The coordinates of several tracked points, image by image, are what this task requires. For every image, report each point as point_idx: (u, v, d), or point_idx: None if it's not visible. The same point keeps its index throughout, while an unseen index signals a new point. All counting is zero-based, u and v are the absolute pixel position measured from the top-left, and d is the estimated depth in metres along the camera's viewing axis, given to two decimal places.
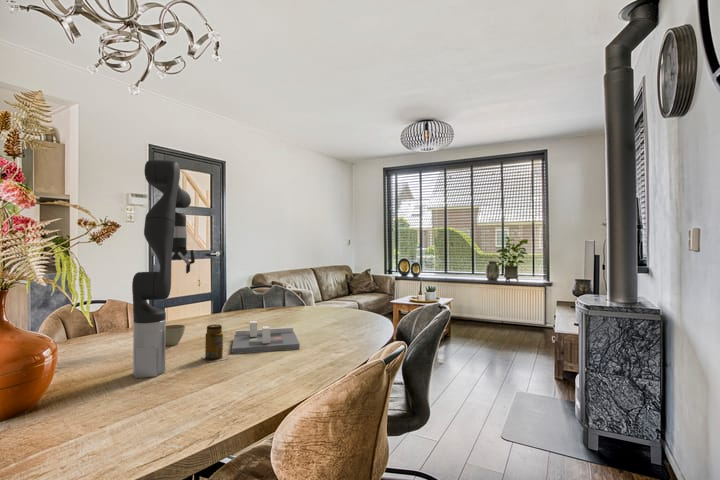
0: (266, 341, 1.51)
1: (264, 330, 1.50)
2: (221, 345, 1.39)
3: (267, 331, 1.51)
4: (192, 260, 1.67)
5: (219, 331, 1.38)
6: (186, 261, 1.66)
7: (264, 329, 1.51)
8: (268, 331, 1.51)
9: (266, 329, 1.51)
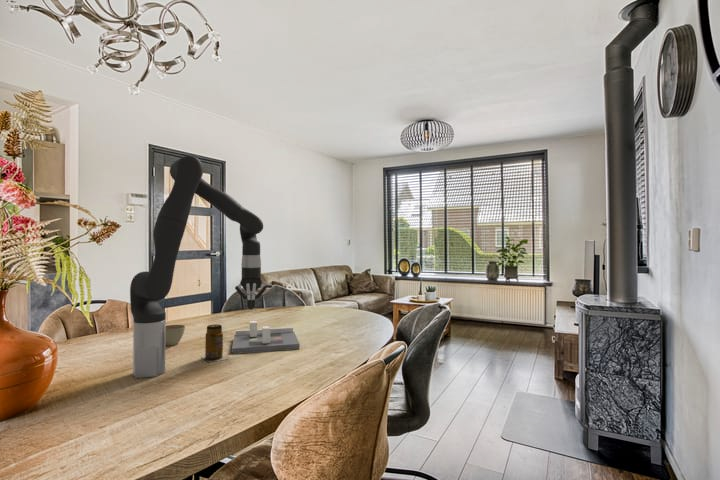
0: (266, 341, 1.51)
1: (264, 330, 1.50)
2: (221, 345, 1.39)
3: (267, 331, 1.51)
4: (257, 294, 1.51)
5: (219, 331, 1.38)
6: (253, 295, 1.50)
7: (264, 329, 1.51)
8: (268, 331, 1.51)
9: (266, 329, 1.51)
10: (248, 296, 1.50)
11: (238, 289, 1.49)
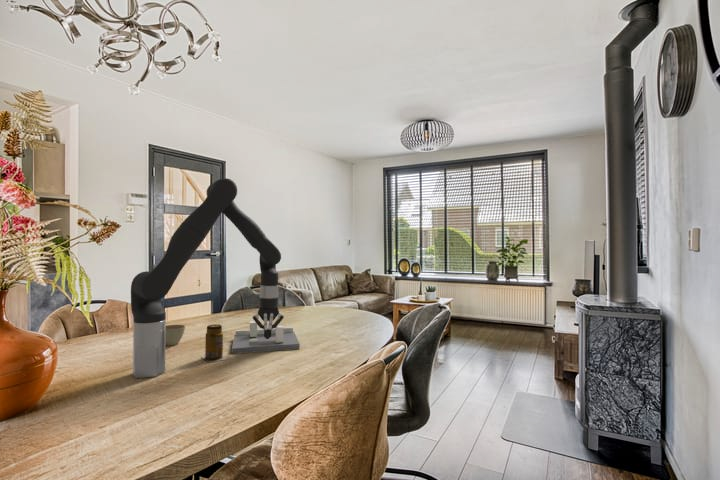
0: (279, 340, 1.52)
1: (277, 329, 1.52)
2: (221, 345, 1.39)
3: (280, 330, 1.52)
4: (274, 324, 1.53)
5: (219, 331, 1.38)
6: (270, 325, 1.52)
7: (277, 328, 1.52)
8: (281, 330, 1.52)
9: (279, 328, 1.52)
10: (265, 326, 1.52)
11: (256, 319, 1.51)
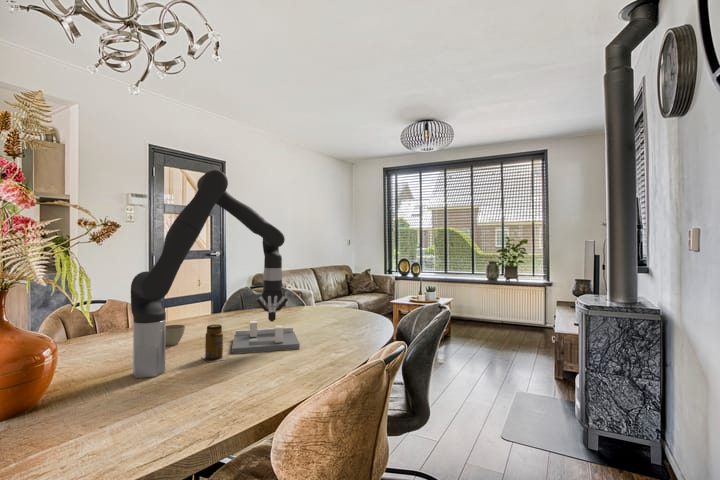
0: (279, 340, 1.52)
1: (277, 329, 1.52)
2: (221, 345, 1.39)
3: (280, 330, 1.52)
4: (278, 307, 1.53)
5: (219, 331, 1.38)
6: (274, 308, 1.52)
7: (277, 328, 1.52)
8: (281, 330, 1.52)
9: (279, 328, 1.52)
10: (269, 308, 1.52)
11: (260, 301, 1.51)
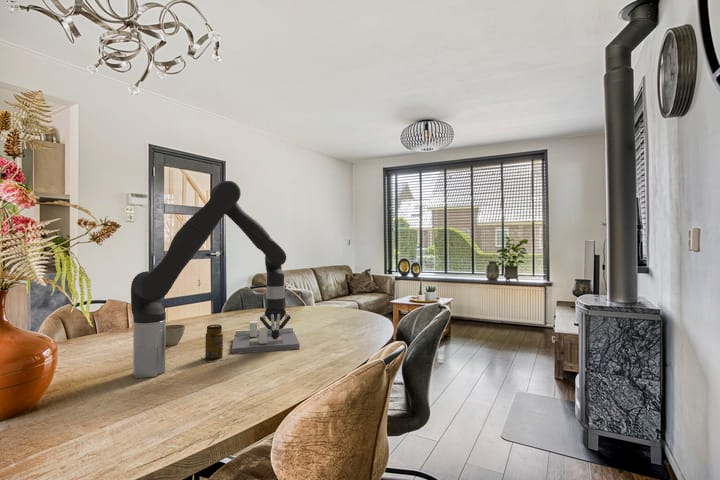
0: (263, 341, 1.50)
1: (261, 330, 1.50)
2: (221, 345, 1.39)
3: (264, 331, 1.50)
4: (281, 325, 1.53)
5: (219, 331, 1.38)
6: (277, 326, 1.53)
7: (261, 329, 1.50)
8: (265, 331, 1.51)
9: (263, 329, 1.50)
10: (272, 326, 1.52)
11: (263, 320, 1.51)
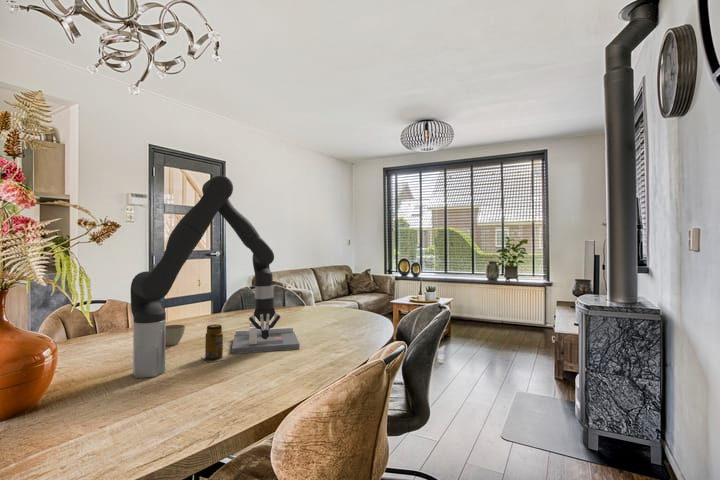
0: (253, 342, 1.49)
1: (251, 331, 1.49)
2: (221, 345, 1.39)
3: (254, 332, 1.49)
4: (271, 325, 1.52)
5: (219, 331, 1.38)
6: (267, 325, 1.51)
7: (251, 330, 1.49)
8: (255, 332, 1.49)
9: (253, 330, 1.49)
10: (262, 326, 1.51)
11: (252, 320, 1.50)
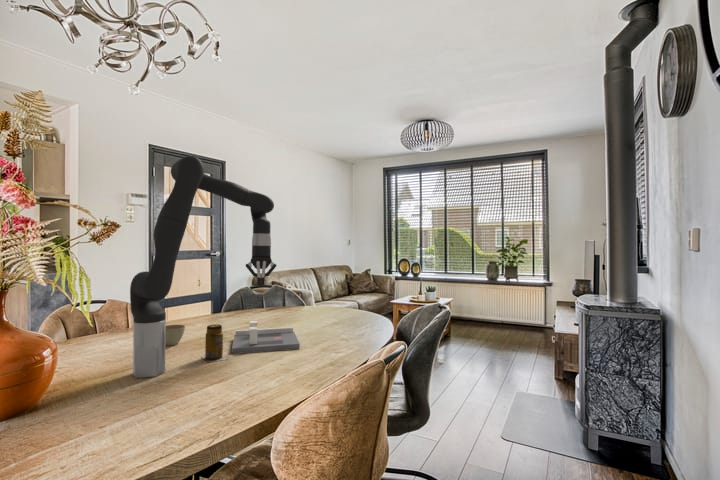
0: (253, 342, 1.49)
1: (251, 331, 1.49)
2: (221, 345, 1.39)
3: (254, 332, 1.49)
4: (267, 272, 1.54)
5: (219, 331, 1.38)
6: (263, 273, 1.54)
7: (251, 330, 1.49)
8: (255, 332, 1.50)
9: (253, 330, 1.49)
10: (258, 274, 1.53)
11: (248, 266, 1.52)
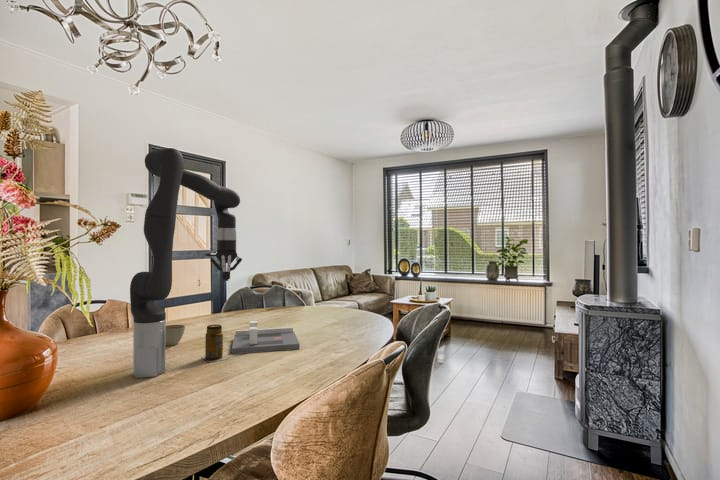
0: (253, 342, 1.49)
1: (251, 331, 1.49)
2: (221, 345, 1.39)
3: (254, 332, 1.49)
4: None
5: (219, 331, 1.38)
6: (228, 267, 1.55)
7: (251, 330, 1.49)
8: (255, 332, 1.50)
9: (253, 330, 1.49)
10: (223, 268, 1.54)
11: (213, 261, 1.53)
